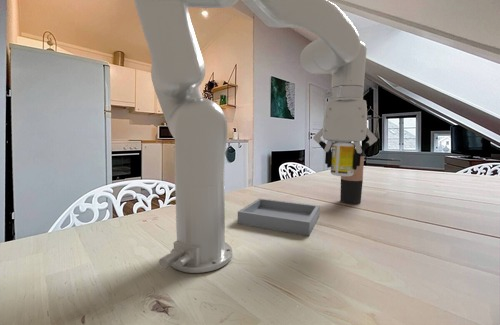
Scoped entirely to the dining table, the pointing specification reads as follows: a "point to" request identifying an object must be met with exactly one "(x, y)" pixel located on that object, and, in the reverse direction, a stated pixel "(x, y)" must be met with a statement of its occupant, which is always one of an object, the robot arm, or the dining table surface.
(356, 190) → the travel mug
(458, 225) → the dining table surface
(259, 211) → the tray
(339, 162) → the supplement bottle
